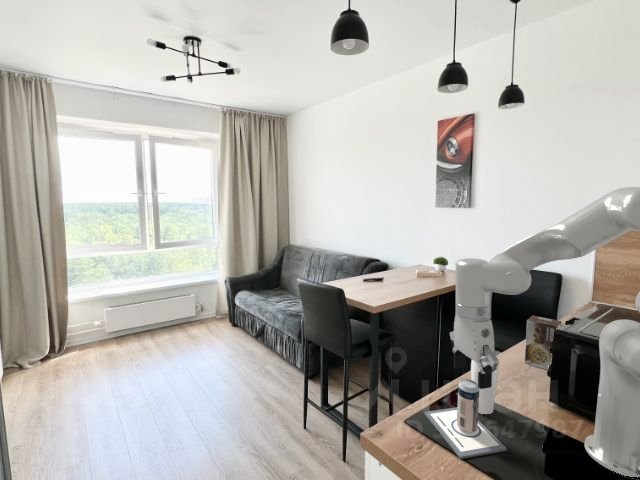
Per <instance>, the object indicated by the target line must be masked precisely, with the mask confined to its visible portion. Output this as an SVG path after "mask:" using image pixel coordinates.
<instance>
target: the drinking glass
mask: <svg viewBox="0 0 640 480" xmlns="http://www.w3.org/2000/svg"><path fill="white" fill-rule="evenodd" d="M483 358H484V356H482V357H481V358H480V359H483ZM470 363H471V364H470V380H473V381H474V382H476V383H477V385H478V372H480V370H479V367H478V364H477V362H475V361H473V360H472V359H471V362H470ZM482 364H483V366H484V367H485V366H487V365H486V362H482ZM499 369H500V363H499V364H498V366H497V369H496V370H495V371H494V372H492V386H491V387H490V388H485V389H480V388H479V407H478V414H480V415H483V414H490V415H492V414H493V412H494V405H495V398H496V393H497V387H498V379H499ZM491 413H492V414H491Z"/></svg>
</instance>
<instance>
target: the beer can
mask: <svg viewBox="0 0 640 480" xmlns="http://www.w3.org/2000/svg"><path fill="white" fill-rule="evenodd" d="M457 387H458V389H457V426H458V427H459V428H460V429H461V430H463V431H465V432H468V433H471V432H475V431H476V430H477V426H478V420H479V413H478V407H479V388H478V385H477V383H476V382H474V381H473V380H471V379H468V378H465V379H461V380H460V382H459V383H458V385H457Z"/></svg>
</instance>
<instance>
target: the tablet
mask: <svg viewBox="0 0 640 480" xmlns="http://www.w3.org/2000/svg"><path fill="white" fill-rule="evenodd" d="M423 414H424V415H425V417H426V418H427V419H428V421H429V422H430V423H431V424H432V425H433V427H434V426H435V427H434V428H435V429H436V431H437V432H438V431H439V432H440V433H439V432H438V433H439V434H440V435H441V437H442V438H443V439H444V440H445V442H446V443H447V444H448V446H449V447H450V448H451V449H452V451H453V452H454V453H455V454H456V455H457V457H458V458H459V459H460V460H463V459H469V458H474V457H478V456H479V457H480V456H485V455H486V456H487V455H491V454H496V453H497V454H498V453H501V452H507V451H508V449H507V447H506V446H505V445H504V444H503V443H502V442H501V441H500V440H499V439H498V437H496V436H495V435H494V434H493V433H492V432H491V431H490V430H489V429H488V428H487V427H486V426H485V425H484V424H482V422H481V421H480V420H479V419H478V426H477V430H476V431H475V432H471V433H468V432H465V431H463V430H461V429H460V428H459V427H458V426H457V407H450V408H443V409H436V410H430V411H424V412H423Z"/></svg>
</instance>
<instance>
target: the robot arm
mask: <svg viewBox="0 0 640 480" xmlns="http://www.w3.org/2000/svg"><path fill="white" fill-rule="evenodd" d="M630 231H635V232H640V186H630V187H629V186H627V187H622V188H621V187H620V188H617V189H615V190H612V191H610V192H608V193H605V195H603V196H602V197H600V198H598V199H596V200H594V201H593V202H592V203H590V204H588V205H586V206H585V207H583V208H581V209H580V210H577V212H575V213H573V214H571V215H570V216H568V217H566V218H564V219H563V220H561V221H559V222H557V223H556V224H554V225H551V226H549V227H546V228H545V229H543V230H541V231H538V232H536V233H534V234H532V235H530V236H528V237H525V238H523V239H521V240H519V241H517V242H515V243H514V244H512V245H511V246H509V247H507V248H505V249H504V250H502V251H501V252H499V253H497V254H496V255H494V256H493V257H492V258H491V259H490V260H489V261H487V260H485V259H481V258H463V259H459V260H458V261H457V262H456V263H455V316H454V322H453V331H450V332H449V336H450V340H451V341H450V344H451V346H452V353H453V368H454V369H455V370H459V369H465V368H466V367H467V357H468V358H469V359H470V360H471V361H472V360H473V361H475V362H477V364H478V367H479V370H480V372H478V388H480V389H485V388H490V387H491V386H492V372H494V371H495V370H496V369H497V366H498V364H499V365H500V361H499V359H498V357H497V356H496V351H495V334H494V327H493V323H492V319H490V315H491V314H490V312H491V311H490V309H491V308H490V307H491V306H490V305H491V293H498V294H503V295H511V296H516V295H520V294H523V293H525V292H526V291H527V290H528V289H530V286H531V285H532V275H531V273H530V271H532V270H533V269H536V268H538V267H539V266H543V265H544V264H545V265H546V264H547V263H551V262H555V261H564V260H565V261H566V260H572V259H573V260H575V259H577V258H578V259H579V258H582V257H585V256H587V255H589V254H591V253H592V252H594V251H596V250H598V249H599V248H601V247H604V246H605V245H607V244H608V243H610V242H612V241H614V240H617V238H619V237H621V236H623V235H624V234H626V233H628V232H630ZM634 303H635V308H636V310H637V311H638V313H640V291H639V292H638V293H637V295H636V296H635V301H634ZM598 340H599V341H598V348H599V358H600V359H599V360H600V361H599V362H600V368H599V369H600V370H599V373H600V374H599V384H598V393H597V403H596V411H595V419H594V420H595V422H594V429H593V430H594V431H593V434H590V435H588V436H586V437H585V439H584V448H585V451H586V453H587V454H588V455H589V456H590V457H591V458H592V459H593V460H594V461H595V462H597V463H598V464H599V465H601V466H603V467H604V468H606V469H608V470H609V471H612V472H613V471H614V472H613V473H615V472H616V474H618V473H619V474H618V475H620V474H621V476H623V475H624V476H623V477H626V476H629V477H637V478H638V477H640V322H638V321H635V320H631V319H625V318H624V319H616V320H614V321H611V322H609V323H608V324H606V325H605V326H604V327H603V328H602V329H601V331H600V335H599V338H598ZM482 356H484V358H483V359H480V358H481V357H482ZM482 362H486V365H487V366H485V367H484V366H483V364H482ZM629 477H628V478H629Z"/></svg>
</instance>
